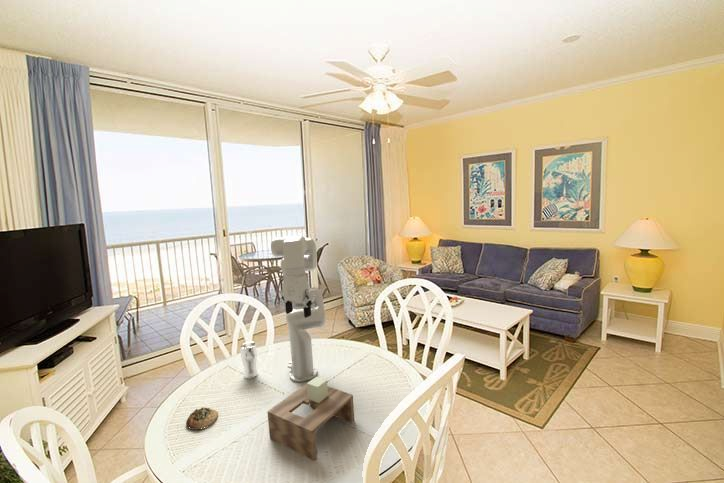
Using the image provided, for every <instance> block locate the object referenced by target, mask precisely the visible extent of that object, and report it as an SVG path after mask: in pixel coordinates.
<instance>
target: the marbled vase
mask: <svg viewBox="0 0 724 483" xmlns="http://www.w3.org/2000/svg"><path fill="white" fill-rule="evenodd" d="M240 358H241V362H242V365H243V367H244V368H243V370H244V371H243V372H244V374H243V377H244V378H245V379H253V378H256V377H257V376H258V374H259V373H258V369H257V361H258V360H257V358H258V351H257V345H256V342H254V341H246V342H244V343H242V344H241V345H240ZM255 376H256V377H255Z"/></svg>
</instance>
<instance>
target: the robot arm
mask: <svg viewBox="0 0 724 483" xmlns="http://www.w3.org/2000/svg"><path fill="white" fill-rule="evenodd" d="M270 250H271V253H272V255H273V257H275V258H276V257H281V258H282V257H283V258H282V259H281V261H280V270H281V273H282V275H283V279H282V290H280V291H279V294H280V296H281V300H283V304H284V307H285V313H286V315H285V316H286V317H285V321H286V325H287V330H288V333H289V334H288V336H289V344H290V345H289V347H290V355H291V357H290V358H291V361H289V362H288V365H287V368H288V369H290V372H289V379H290V380H291V381H293V382H296V383H297V382H298V383H302V382H309V381H311V380H312V379H314V378H315V377H317V375H318V369H317V368H316V367H314V359H313V358H314V357H313V348H312V347H313V346H312V345H313V344H312V337H311V335H310V333H309V332H308V330H310V329H317V328H322V327H324V326H325V324H326V321H327V320H326V312H325V311H326V310H325V304H324V296H323V293H322V290H321V289H320V288H319V287H309V280H308V276H307V274H306V272H311V271H314V270H315V269H317V263H318V262H317V246H316V242H315V240H314V238H311V237H305V236H302V235H300V236H299V235H294V236H282V237H281V236H279V237H274V238H273V239H272V240H271V243H270Z"/></svg>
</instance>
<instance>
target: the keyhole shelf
mask: <svg viewBox="0 0 724 483" xmlns="http://www.w3.org/2000/svg"><path fill="white" fill-rule="evenodd" d="M327 388H328V396H327V397H326V398H325V399H323V400H322V401H321V402H320V403H317V402H315V401H312V400H309V399H308V390H307V383H305V384H304V385H303V386H301V387H300V388H299V389H297V390H296V391H294V392H293V393H291V394H290V395H288V396H287V397H285V399H283V400H282V401H280V402H278V403H277V404H276V405H274V406H273V407H271V408H270V409H269V410H268V411H267V412H266V413H267V423H268V433H269V439H271V440H272V441H275V442H276V443H278V444H279V445H280V444H281V445H282V446H284V447H286V448H288V449H290V450H292V451H294V452H296V453H298V454H300V455H301V456H304V457H305V458H308V459H310V460H312V461H313V462H314V461H315V460H317V458H318V449H317V437H316V435H317V433H316V431H318V430H319V429H320V428H321V427H322V426H323V425H324V424H325V423H327V421H328V420H330V419H331V418H332V417H336V418H339V419H342V420H344V421H346V422H348V423H353V422H354V421H355V408H354V407H355V406H354V395H353V394H352V393H348V392H345V391H343V390H339V389H337V388H334V387H331V386H328V385H327ZM303 404H304V405H306V406H309V405H310V406H309V407H311V408H314V409H313V410H312V411H311V412H310V413H309V414H307V415H306V416H305V417H302V416H300V415H297V414H295V413H293V412H294V411H295V410H297V409H298V408H299V407H300V406H302V405H303Z"/></svg>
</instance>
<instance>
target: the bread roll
mask: <svg viewBox="0 0 724 483" xmlns="http://www.w3.org/2000/svg"><path fill="white" fill-rule="evenodd" d="M218 415H219V412H218V411H217V410H216V409H212V408H210V407H201V408H199V409H197V408H196V409H195V410H193V411H192V412H191V413H190V415H189V416H188V417H187V420H186V422H185V425H186V427H187V426H188V427H190V428H193V430H195V429H201V428H204V427H207V426H209V425H210V426H211V425H212V423H213V422H214V421H216V420H217V418H218ZM214 423H215V422H214ZM214 423H213V424H214ZM210 426H209V427H210ZM188 427H187V428H188Z"/></svg>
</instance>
